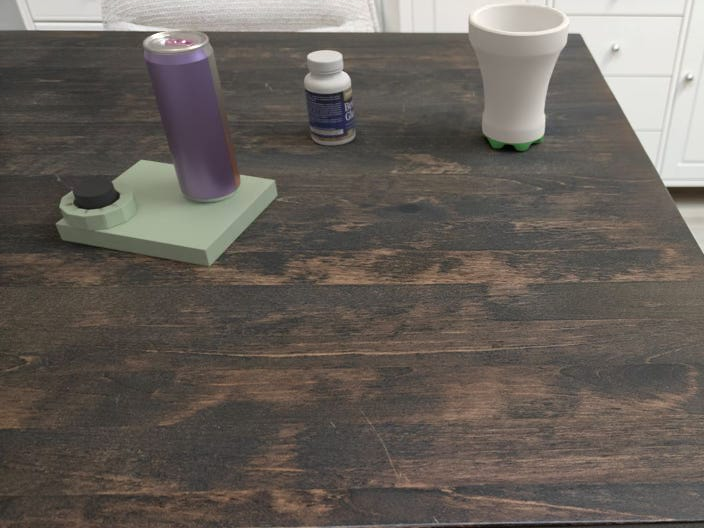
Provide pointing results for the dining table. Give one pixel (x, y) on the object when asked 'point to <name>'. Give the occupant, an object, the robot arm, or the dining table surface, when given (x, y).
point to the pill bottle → (329, 99)
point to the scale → (165, 216)
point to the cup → (516, 67)
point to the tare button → (95, 194)
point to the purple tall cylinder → (193, 113)
